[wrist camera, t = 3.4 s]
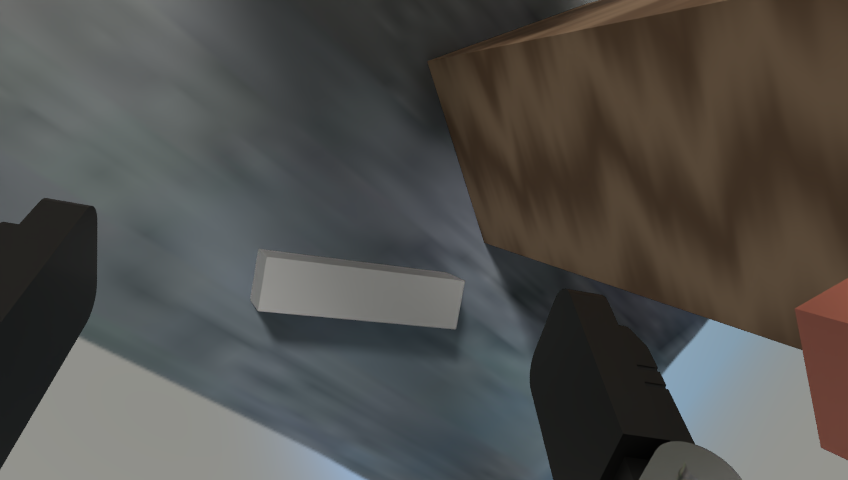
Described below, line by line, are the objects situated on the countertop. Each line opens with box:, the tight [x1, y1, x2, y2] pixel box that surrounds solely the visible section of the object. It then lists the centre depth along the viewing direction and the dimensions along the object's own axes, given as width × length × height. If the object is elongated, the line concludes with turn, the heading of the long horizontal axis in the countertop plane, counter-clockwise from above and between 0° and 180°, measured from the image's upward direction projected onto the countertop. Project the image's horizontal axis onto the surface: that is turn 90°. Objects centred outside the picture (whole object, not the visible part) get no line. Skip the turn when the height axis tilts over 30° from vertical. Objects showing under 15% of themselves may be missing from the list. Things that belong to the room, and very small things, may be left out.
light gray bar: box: [250, 249, 465, 329], centre depth 43 cm, size 3×12×3 cm, turn 79°
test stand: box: [427, 0, 848, 350], centre depth 31 cm, size 12×12×34 cm
